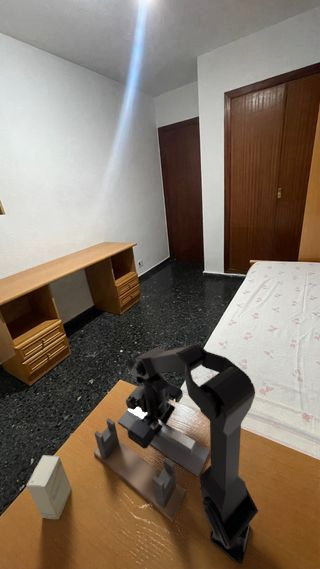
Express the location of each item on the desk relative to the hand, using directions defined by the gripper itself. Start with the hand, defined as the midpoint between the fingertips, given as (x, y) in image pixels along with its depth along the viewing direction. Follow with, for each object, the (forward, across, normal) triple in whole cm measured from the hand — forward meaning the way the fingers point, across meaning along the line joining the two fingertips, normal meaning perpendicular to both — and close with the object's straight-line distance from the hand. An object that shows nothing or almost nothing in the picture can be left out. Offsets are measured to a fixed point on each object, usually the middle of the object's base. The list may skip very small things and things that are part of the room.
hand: (159, 431), depth 66 cm
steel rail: (-1, 0, 0) cm, 1 cm away
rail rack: (+2, +11, 0) cm, 11 cm away
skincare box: (+2, +26, -12) cm, 29 cm away
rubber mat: (+2, 0, 0) cm, 2 cm away
